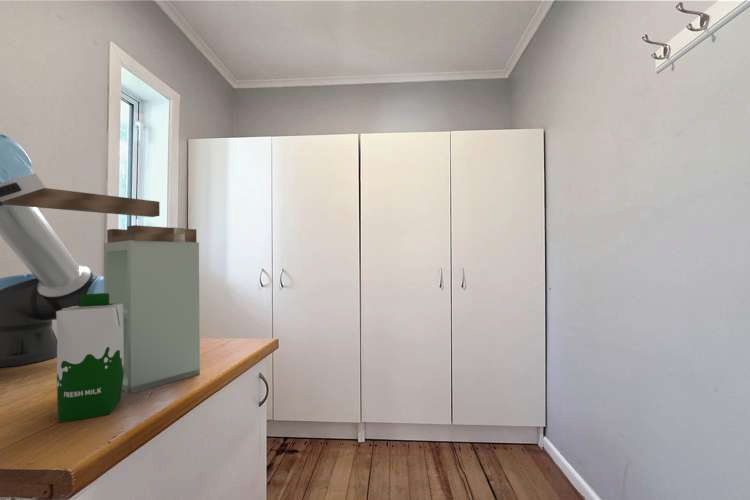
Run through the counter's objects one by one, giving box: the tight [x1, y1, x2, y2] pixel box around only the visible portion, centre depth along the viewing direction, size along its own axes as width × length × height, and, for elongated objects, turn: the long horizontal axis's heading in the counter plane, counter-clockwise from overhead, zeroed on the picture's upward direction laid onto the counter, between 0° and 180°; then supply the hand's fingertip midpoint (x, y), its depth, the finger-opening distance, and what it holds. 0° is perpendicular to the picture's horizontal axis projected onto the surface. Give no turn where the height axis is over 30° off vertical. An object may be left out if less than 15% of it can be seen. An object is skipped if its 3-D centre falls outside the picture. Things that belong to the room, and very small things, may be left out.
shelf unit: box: [103, 240, 201, 395], centre depth 80 cm, size 14×13×30 cm
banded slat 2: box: [126, 224, 197, 242], centre depth 78 cm, size 13×3×3 cm, turn 149°
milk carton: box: [56, 293, 124, 423], centre depth 63 cm, size 9×9×20 cm
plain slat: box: [2, 187, 161, 218], centre depth 70 cm, size 28×3×3 cm, turn 146°
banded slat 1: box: [106, 228, 127, 243], centre depth 84 cm, size 13×3×3 cm, turn 145°
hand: (36, 182), depth 65 cm, fingers closed on plain slat, 3 cm apart
